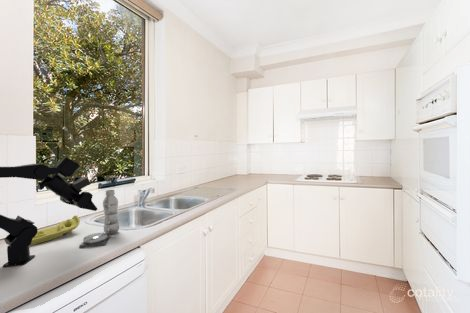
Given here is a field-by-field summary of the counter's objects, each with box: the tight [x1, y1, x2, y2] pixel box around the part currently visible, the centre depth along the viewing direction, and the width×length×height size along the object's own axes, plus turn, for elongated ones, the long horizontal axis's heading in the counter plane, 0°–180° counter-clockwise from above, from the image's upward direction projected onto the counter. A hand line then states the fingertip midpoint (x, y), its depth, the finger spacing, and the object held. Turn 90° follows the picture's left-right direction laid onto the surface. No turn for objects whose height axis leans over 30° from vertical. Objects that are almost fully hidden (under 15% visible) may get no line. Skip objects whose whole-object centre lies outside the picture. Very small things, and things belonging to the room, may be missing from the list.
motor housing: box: [79, 232, 111, 249], centre depth 101 cm, size 9×9×2 cm
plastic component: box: [29, 214, 81, 246], centre depth 109 cm, size 20×7×10 cm
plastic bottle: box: [102, 189, 120, 235], centre depth 111 cm, size 6×7×20 cm
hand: (91, 208), depth 104 cm, fingers open, 9 cm apart
